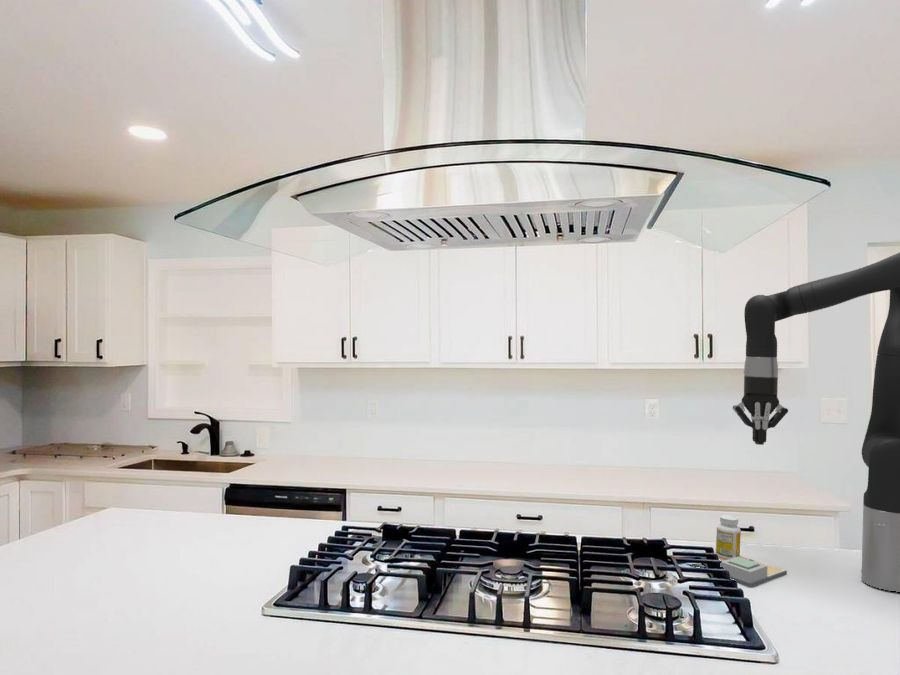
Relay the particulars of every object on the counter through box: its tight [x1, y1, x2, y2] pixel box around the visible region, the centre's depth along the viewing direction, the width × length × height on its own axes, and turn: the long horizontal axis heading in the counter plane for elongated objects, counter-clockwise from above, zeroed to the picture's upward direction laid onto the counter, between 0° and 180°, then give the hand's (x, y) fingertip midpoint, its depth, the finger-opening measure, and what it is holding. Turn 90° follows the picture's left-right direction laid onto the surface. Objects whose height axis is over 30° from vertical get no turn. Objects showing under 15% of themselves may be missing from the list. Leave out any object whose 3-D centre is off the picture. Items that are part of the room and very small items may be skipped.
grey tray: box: [691, 551, 788, 588], centre depth 144 cm, size 16×15×3 cm
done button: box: [729, 558, 759, 570], centre depth 139 cm, size 4×4×2 cm
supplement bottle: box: [715, 514, 742, 560], centre depth 150 cm, size 5×5×10 cm
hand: (759, 444), depth 154 cm, fingers closed
